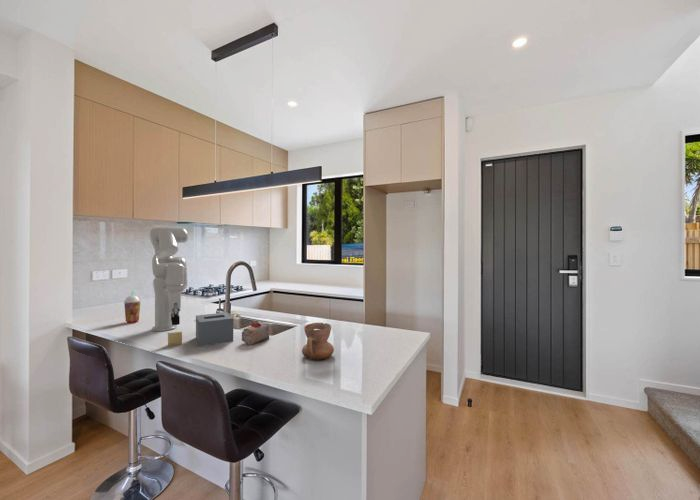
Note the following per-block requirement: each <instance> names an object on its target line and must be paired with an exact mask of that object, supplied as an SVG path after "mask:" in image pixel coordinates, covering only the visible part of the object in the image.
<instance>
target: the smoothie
mask: <svg viewBox="0 0 700 500" xmlns="http://www.w3.org/2000/svg"><path fill="white" fill-rule="evenodd" d="M123 303H124V314H125V315H124V316H125V317H124V318H125V322H126V324H136V323H139V320H140V309H141V299H140V298H139V297H138V296H137V295H135V294H134V290H132V291H131V295H129V296H127V297H126V298H125V300H124V301H123Z"/></svg>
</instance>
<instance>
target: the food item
mask: <svg viewBox="0 0 700 500" xmlns="http://www.w3.org/2000/svg"><path fill="white" fill-rule="evenodd" d="M250 325H251V326H249V327H246V328H243V330H242V331H241V341H242V342H244V344H247V345H250V346H253V345H255V344H257V343H260V342H263V341H266V340H268V339H270V329H269V328H270V327H269V324H267V323H265V322H261V323H260V322H252V321H251V324H250Z"/></svg>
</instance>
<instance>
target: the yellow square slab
mask: <svg viewBox="0 0 700 500" xmlns="http://www.w3.org/2000/svg"><path fill="white" fill-rule="evenodd" d="M182 343H183V331H175V332H174V331H173V332H168V333H167V347H173V346H179V345H182Z"/></svg>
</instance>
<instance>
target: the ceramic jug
mask: <svg viewBox="0 0 700 500" xmlns="http://www.w3.org/2000/svg"><path fill="white" fill-rule="evenodd" d="M303 329H304V334H305V336H306V339H307V340H306V344H304V345H303V346H302V349H301V354H302V355H303V356H304V358H307V359H310V360H314V361H315V360H316V361H317V360H318V361H319V360H325V359H327V358H330V357H331V356H332V355H333V354H334V351H335V349H334V348H335V347H334V346H333V344H332V343H331V342H329V341H328V340H329V338H330V336H331V331H332V325H331V324H329V323H327V322H313V323H312V322H311V323H307V324H306V325H304V327H303Z"/></svg>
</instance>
